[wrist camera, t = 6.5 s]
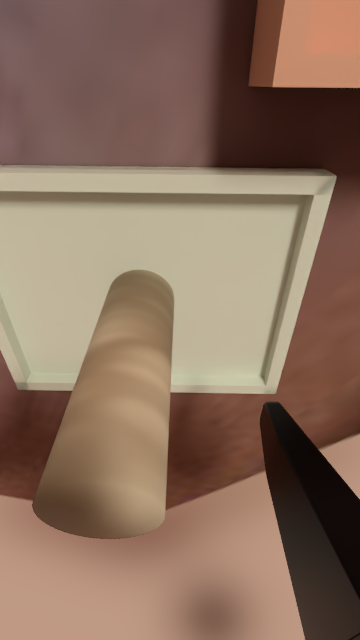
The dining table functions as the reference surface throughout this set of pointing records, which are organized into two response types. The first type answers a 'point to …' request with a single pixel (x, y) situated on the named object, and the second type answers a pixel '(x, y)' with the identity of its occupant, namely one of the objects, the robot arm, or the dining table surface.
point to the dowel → (116, 420)
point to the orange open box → (306, 44)
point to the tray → (158, 265)
